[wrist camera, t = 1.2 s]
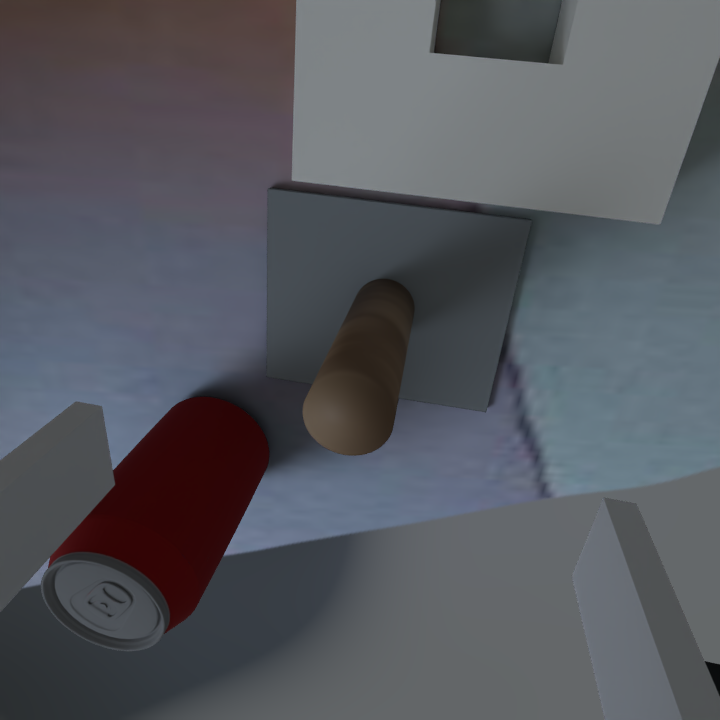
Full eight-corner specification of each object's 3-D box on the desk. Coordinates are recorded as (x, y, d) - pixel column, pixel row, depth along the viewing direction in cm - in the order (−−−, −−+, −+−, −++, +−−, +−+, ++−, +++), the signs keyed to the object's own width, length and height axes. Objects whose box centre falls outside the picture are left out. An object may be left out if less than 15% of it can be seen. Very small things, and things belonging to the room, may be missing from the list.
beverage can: (149, 434, 32) (0, 597, 22) (205, 367, 29) (64, 517, 19) (234, 498, 34) (133, 681, 23) (296, 440, 31) (212, 619, 20)
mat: (268, 373, 29) (266, 376, 28) (270, 187, 24) (267, 188, 24) (485, 408, 28) (486, 412, 27) (530, 219, 23) (532, 221, 23)
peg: (351, 331, 26) (300, 447, 18) (356, 274, 25) (304, 369, 16) (410, 339, 26) (388, 462, 17) (418, 283, 25) (399, 385, 16)
